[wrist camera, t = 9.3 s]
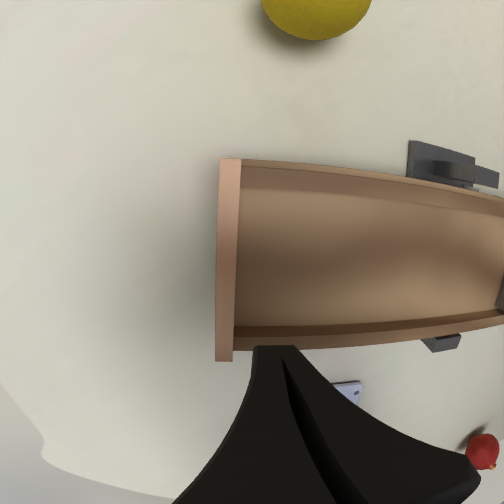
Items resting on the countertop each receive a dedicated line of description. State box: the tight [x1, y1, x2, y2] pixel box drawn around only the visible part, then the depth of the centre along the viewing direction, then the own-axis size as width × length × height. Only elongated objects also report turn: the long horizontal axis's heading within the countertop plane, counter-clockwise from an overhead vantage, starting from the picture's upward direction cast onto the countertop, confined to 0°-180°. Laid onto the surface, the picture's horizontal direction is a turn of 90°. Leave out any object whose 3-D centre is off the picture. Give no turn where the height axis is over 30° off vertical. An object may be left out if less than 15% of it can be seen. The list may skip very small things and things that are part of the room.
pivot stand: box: [406, 141, 499, 353], centre depth 17 cm, size 14×6×5 cm, turn 177°
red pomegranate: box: [465, 434, 499, 470], centre depth 27 cm, size 6×6×8 cm
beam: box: [215, 158, 504, 362], centre depth 15 cm, size 9×26×3 cm, turn 87°
